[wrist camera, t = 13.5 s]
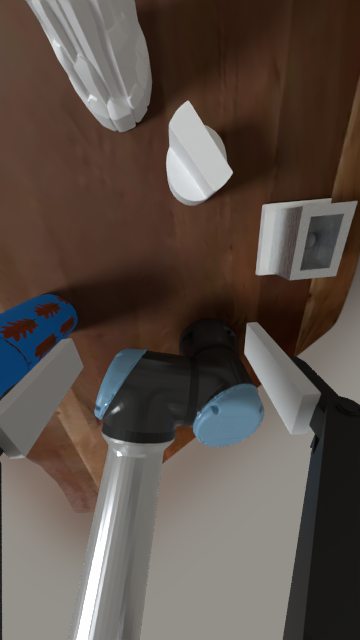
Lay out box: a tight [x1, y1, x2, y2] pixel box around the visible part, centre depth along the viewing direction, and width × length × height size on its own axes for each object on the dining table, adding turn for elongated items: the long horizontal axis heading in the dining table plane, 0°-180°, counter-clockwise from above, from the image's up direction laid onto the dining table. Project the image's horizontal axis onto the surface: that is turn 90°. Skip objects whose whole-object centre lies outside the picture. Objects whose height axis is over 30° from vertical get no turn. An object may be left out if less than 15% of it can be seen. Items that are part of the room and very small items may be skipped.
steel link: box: [268, 201, 358, 280], centre depth 33 cm, size 11×8×8 cm
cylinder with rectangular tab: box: [166, 101, 233, 205], centre depth 27 cm, size 9×9×12 cm
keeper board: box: [256, 198, 332, 275], centre depth 35 cm, size 13×12×7 cm
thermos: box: [0, 294, 78, 397], centre depth 32 cm, size 11×11×25 cm
